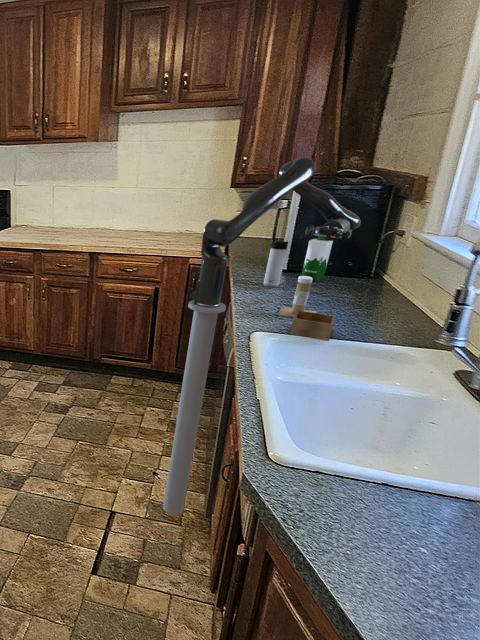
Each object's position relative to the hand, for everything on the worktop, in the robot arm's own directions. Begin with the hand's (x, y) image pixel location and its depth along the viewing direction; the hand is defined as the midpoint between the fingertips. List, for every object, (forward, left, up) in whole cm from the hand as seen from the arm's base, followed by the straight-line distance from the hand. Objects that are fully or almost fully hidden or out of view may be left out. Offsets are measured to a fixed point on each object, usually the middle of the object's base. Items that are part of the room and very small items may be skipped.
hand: (323, 234), depth 192 cm
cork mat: (-2, -11, -28) cm, 30 cm away
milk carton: (-2, +54, -28) cm, 61 cm away
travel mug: (-16, +29, -28) cm, 44 cm away
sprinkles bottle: (-2, -11, -28) cm, 30 cm away
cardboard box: (+4, -32, -28) cm, 43 cm away
